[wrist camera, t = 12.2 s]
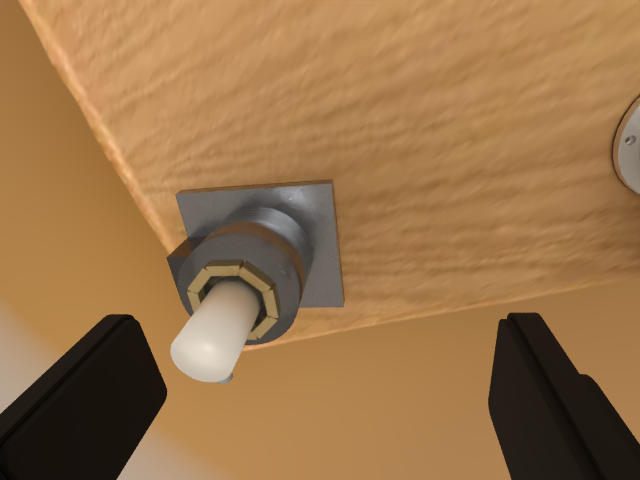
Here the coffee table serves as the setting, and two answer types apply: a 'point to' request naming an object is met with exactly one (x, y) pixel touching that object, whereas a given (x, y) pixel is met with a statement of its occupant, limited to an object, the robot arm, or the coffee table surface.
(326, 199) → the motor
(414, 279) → the coffee table surface
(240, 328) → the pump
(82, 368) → the robot arm
